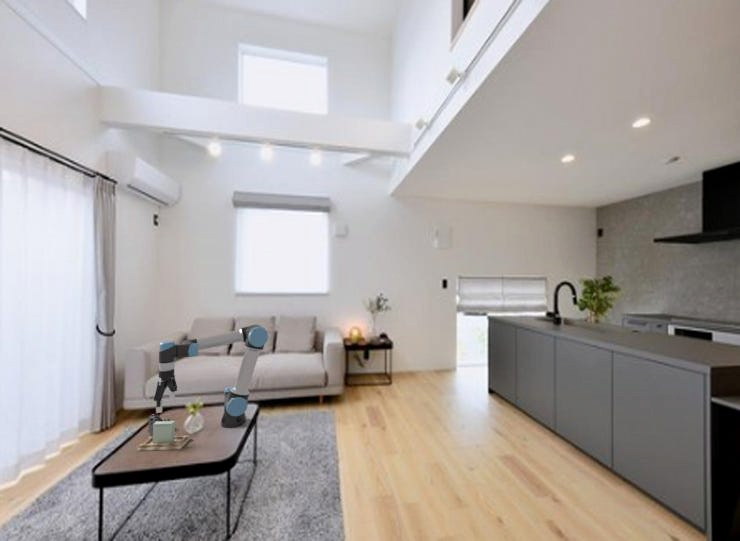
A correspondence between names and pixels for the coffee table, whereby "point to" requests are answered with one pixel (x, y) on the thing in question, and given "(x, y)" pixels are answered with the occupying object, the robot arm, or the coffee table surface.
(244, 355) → the robot arm
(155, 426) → the pale green block
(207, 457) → the coffee table surface
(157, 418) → the camera
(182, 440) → the track board
